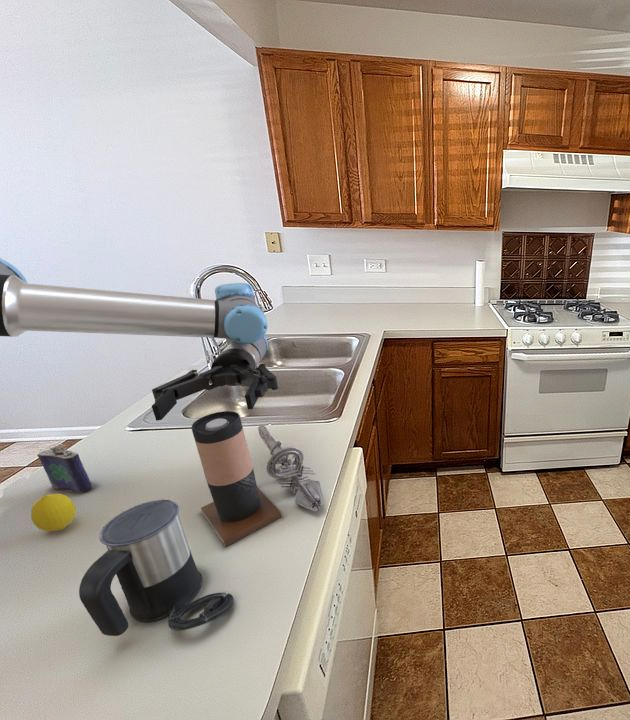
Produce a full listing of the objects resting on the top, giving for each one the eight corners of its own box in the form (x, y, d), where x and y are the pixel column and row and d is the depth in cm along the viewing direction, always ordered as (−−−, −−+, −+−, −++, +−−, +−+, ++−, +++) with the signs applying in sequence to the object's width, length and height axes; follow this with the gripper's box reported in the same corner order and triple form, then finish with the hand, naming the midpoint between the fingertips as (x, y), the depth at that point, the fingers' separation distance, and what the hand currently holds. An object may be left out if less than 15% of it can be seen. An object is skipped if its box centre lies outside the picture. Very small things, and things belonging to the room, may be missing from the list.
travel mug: (248, 491, 83) (226, 407, 76) (269, 504, 80) (249, 417, 72) (209, 514, 77) (181, 424, 70) (231, 529, 74) (204, 436, 66)
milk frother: (151, 574, 66) (122, 503, 61) (254, 557, 69) (235, 488, 64) (94, 663, 53) (52, 583, 48) (224, 637, 56) (198, 558, 51)
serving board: (202, 513, 79) (200, 507, 79) (255, 488, 86) (253, 483, 86) (225, 547, 71) (223, 541, 71) (281, 517, 78) (280, 511, 78)
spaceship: (278, 412, 102) (245, 412, 96) (343, 487, 80) (305, 492, 74) (270, 440, 103) (237, 441, 97) (332, 521, 81) (294, 529, 75)
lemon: (51, 523, 77) (35, 489, 74) (87, 515, 79) (73, 482, 76) (33, 544, 72) (15, 509, 69) (72, 535, 74) (56, 501, 71)
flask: (49, 489, 86) (30, 447, 83) (65, 481, 89) (47, 439, 85) (84, 494, 85) (65, 451, 81) (98, 485, 87) (81, 444, 84)
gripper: (301, 373, 91) (287, 416, 72) (174, 386, 84) (122, 438, 65) (295, 342, 88) (280, 378, 69) (164, 353, 81) (107, 396, 62)
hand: (203, 407), depth 67 cm, fingers open, 13 cm apart
